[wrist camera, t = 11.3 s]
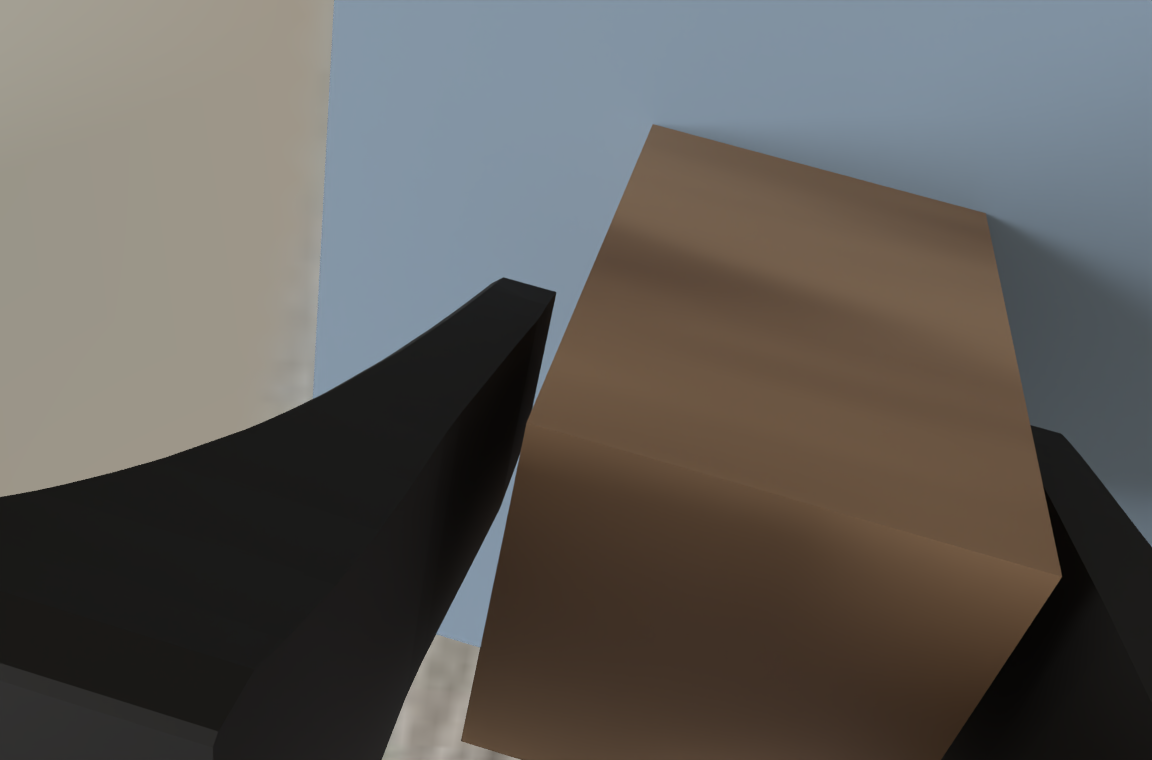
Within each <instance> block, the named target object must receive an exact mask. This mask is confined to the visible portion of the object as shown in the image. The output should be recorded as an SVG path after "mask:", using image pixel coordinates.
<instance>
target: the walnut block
mask: <svg viewBox="0 0 1152 760" xmlns="http://www.w3.org/2000/svg"><path fill="white" fill-rule="evenodd" d="M1061 578H1062V574H1061V569H1060V564H1059V559H1058V555H1057V550H1056V545H1055V540H1054V536H1053V531H1052V526H1051V521H1050V517H1049V512H1048V507H1047V502H1046V498H1045V493H1044V488H1043V483H1042V478H1041V474H1040V469H1039V464H1038V459H1037V455H1036V450H1035V445H1034V440H1033V436H1032V431H1031V426H1030V421H1029V417H1028V412H1027V407H1026V402H1025V398H1024V393H1023V388H1022V383H1021V378H1020V374H1019V369H1018V364H1017V359H1016V355H1015V350H1014V345H1013V340H1012V336H1011V331H1010V326H1009V321H1008V317H1007V312H1006V307H1005V302H1004V298H1003V293H1002V288H1001V283H1000V278H999V274H998V269H997V264H996V259H995V255H994V250H993V245H992V240H991V236H990V231H989V226H988V221H987V217H986V213H983V212H980V211H976V210H972V209H968V208H965V207H961V206H957V205H953V204H950V203H946V202H942V201H938V200H935V199H931V198H927V197H924V196H920V195H916V194H912V193H909V192H905V191H901V190H897V189H894V188H890V187H886V186H882V185H879V184H875V183H871V182H867V181H864V180H860V179H856V178H852V177H849V176H845V175H841V174H838V173H834V172H830V171H826V170H823V169H819V168H815V167H811V166H808V165H804V164H800V163H796V162H793V161H789V160H785V159H781V158H778V157H774V156H770V155H766V154H763V153H759V152H755V151H751V150H748V149H744V148H740V147H737V146H733V145H729V144H725V143H722V142H718V141H714V140H710V139H707V138H703V137H699V136H695V135H692V134H688V133H684V132H680V131H677V130H673V129H669V128H665V127H662V126H658V125H654V124H653V125H652V127H651V129H650V132H649V134H648V136H647V139H646V141H645V144H644V146H643V148H642V151H641V153H640V155H639V158H638V160H637V163H636V165H635V167H634V170H633V172H632V174H631V177H630V179H629V181H628V184H627V186H626V189H625V191H624V193H623V196H622V198H621V200H620V203H619V205H618V207H617V210H616V212H615V215H614V217H613V219H612V222H611V224H610V226H609V229H608V231H607V234H606V236H605V238H604V241H603V243H602V245H601V248H600V250H599V252H598V255H597V257H596V260H595V262H594V264H593V267H592V269H591V271H590V274H589V276H588V278H587V281H586V283H585V286H584V288H583V290H582V293H581V295H580V297H579V300H578V302H577V305H576V307H575V309H574V312H573V314H572V316H571V319H570V321H569V323H568V326H567V328H566V331H565V333H564V335H563V338H562V340H561V342H560V345H559V347H558V349H557V352H556V354H555V357H554V359H553V361H552V364H551V366H550V368H549V371H548V373H547V376H546V378H545V380H544V383H543V385H542V387H541V390H540V392H539V394H538V397H537V399H536V402H535V404H534V406H533V409H532V411H531V413H530V416H529V418H528V420H527V423H526V428H525V433H524V438H523V443H522V447H521V452H520V457H519V462H518V467H517V472H516V477H515V481H514V486H513V491H512V496H511V501H510V506H509V511H508V515H507V520H506V525H505V530H504V535H503V540H502V545H501V549H500V554H499V559H498V564H497V569H496V574H495V579H494V584H493V588H492V593H491V598H490V603H489V608H488V613H487V618H486V622H485V627H484V632H483V637H482V642H481V647H480V652H479V656H478V661H477V666H476V671H475V676H474V681H473V686H472V690H471V695H470V700H469V705H468V710H467V715H466V720H465V724H464V729H463V734H462V739H461V741H462V742H466V743H469V744H472V745H475V746H479V747H482V748H485V749H488V750H492V751H495V752H498V753H501V754H505V755H508V756H511V757H514V758H518V759H521V760H941V759H942V757H943V756H944V754H945V753H946V751H947V750H948V748H949V747H950V745H951V744H952V742H953V741H954V739H955V738H956V736H957V735H958V733H959V732H960V730H961V729H962V727H963V726H964V724H965V723H966V721H967V720H968V718H969V717H970V715H971V714H972V712H973V711H974V709H975V708H976V706H977V705H978V703H979V702H980V700H981V699H982V697H983V696H984V694H985V692H986V691H987V689H988V688H989V686H990V685H991V683H992V682H993V680H994V679H995V677H996V676H997V674H998V673H999V671H1000V670H1001V668H1002V667H1003V665H1004V664H1005V662H1006V661H1007V659H1008V658H1009V656H1010V655H1011V653H1012V652H1013V650H1014V649H1015V647H1016V646H1017V644H1018V643H1019V641H1020V640H1021V638H1022V637H1023V635H1024V634H1025V632H1026V631H1027V629H1028V628H1029V626H1030V625H1031V623H1032V621H1033V620H1034V618H1035V617H1036V615H1037V614H1038V612H1039V611H1040V609H1041V608H1042V606H1043V605H1044V603H1045V602H1046V600H1047V599H1048V597H1049V596H1050V594H1051V593H1052V591H1053V590H1054V588H1055V587H1056V585H1057V584H1058V582H1059V581H1060V579H1061Z"/></svg>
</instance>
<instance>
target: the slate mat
mask: <svg viewBox="0 0 1152 760" xmlns="http://www.w3.org/2000/svg"><path fill="white" fill-rule="evenodd" d="M653 124H654V125H658V126H662V127H665V128H669V129H673V130H677V131H680V132H684V133H688V134H692V135H695V136H699V137H703V138H707V139H710V140H714V141H718V142H722V143H725V144H729V145H733V146H737V147H740V148H744V149H748V150H751V151H755V152H759V153H763V154H766V155H770V156H774V157H778V158H781V159H785V160H789V161H793V162H796V163H800V164H804V165H808V166H811V167H815V168H819V169H823V170H826V171H830V172H834V173H838V174H841V175H845V176H849V177H852V178H856V179H860V180H864V181H867V182H871V183H875V184H879V185H882V186H886V187H890V188H894V189H897V190H901V191H905V192H909V193H912V194H916V195H920V196H924V197H927V198H931V199H935V200H938V201H942V202H946V203H950V204H953V205H957V206H961V207H965V208H968V209H972V210H976V211H980V212H983V213H986V217H987V221H988V226H989V231H990V236H991V240H992V245H993V250H994V255H995V259H996V264H997V269H998V274H999V278H1000V283H1001V288H1002V293H1003V298H1004V302H1005V307H1006V312H1007V317H1008V321H1009V326H1010V331H1011V336H1012V340H1013V345H1014V350H1015V355H1016V359H1017V364H1018V369H1019V374H1020V378H1021V383H1022V388H1023V393H1024V398H1025V402H1026V407H1027V412H1028V417H1029V421H1030V425H1032V426H1036V427H1040V428H1043V429H1047V430H1050V431H1054V432H1057V433H1061V434H1062V435H1063V436H1064V437H1065V438H1066V439H1067V440H1068V441H1069V442H1070V443H1071V444H1072V446H1073V447H1074V448H1075V449H1076V450H1077V452H1078V453H1079V454H1080V455H1081V456H1082V458H1083V459H1084V460H1085V461H1086V463H1087V464H1088V465H1089V466H1090V468H1091V469H1092V470H1093V472H1094V473H1095V474H1096V475H1097V477H1098V478H1099V479H1100V481H1101V482H1102V483H1103V484H1104V486H1105V487H1106V488H1107V490H1108V491H1109V492H1110V494H1111V495H1112V496H1113V497H1114V499H1115V500H1116V501H1117V503H1118V504H1119V505H1120V507H1121V508H1122V509H1123V510H1124V512H1125V513H1126V514H1127V516H1128V517H1129V518H1130V520H1131V521H1132V522H1133V523H1134V525H1135V526H1136V527H1137V529H1138V530H1139V531H1140V532H1141V534H1142V535H1143V536H1144V538H1145V539H1146V540H1147V541H1148V543H1149V544H1150V545H1151V546H1152V0H334V14H333V33H332V52H331V70H330V89H329V108H328V126H327V145H326V164H325V183H324V201H323V220H322V239H321V257H320V276H319V295H318V313H317V332H316V351H315V370H314V388H313V399H314V398H316V397H318V396H320V395H322V394H324V393H325V392H327V391H329V390H331V389H333V388H334V387H336V386H338V385H340V384H341V383H343V382H345V381H347V380H348V379H350V378H352V377H354V376H355V375H357V374H359V373H361V372H362V371H364V370H366V369H368V368H369V367H371V366H373V365H375V364H376V363H378V362H380V361H381V360H383V359H385V358H386V357H388V356H389V355H391V354H393V353H394V352H396V351H397V350H399V349H400V348H402V347H403V346H405V345H406V344H408V343H409V342H411V341H412V340H414V339H415V338H417V337H418V336H420V335H421V334H423V333H424V332H426V331H427V330H429V329H430V328H432V327H433V326H435V325H436V324H437V323H439V322H440V321H442V320H443V319H444V318H446V317H447V316H449V315H450V314H452V313H453V312H454V311H456V310H457V309H458V308H460V307H461V306H462V305H464V304H465V303H466V302H468V301H469V300H470V299H472V298H473V297H474V296H476V295H477V294H478V293H480V292H481V291H482V290H484V289H485V288H486V287H487V286H489V285H490V284H491V283H493V282H495V281H497V280H499V279H501V278H503V277H505V278H508V279H512V280H515V281H519V282H522V283H526V284H530V285H533V286H537V287H540V288H544V289H547V290H551V291H555V292H557V293H556V298H555V302H554V307H553V312H552V317H551V321H550V326H549V331H548V336H547V341H546V345H545V350H544V355H543V360H542V364H541V369H540V374H539V379H538V384H537V388H536V393H535V398H534V403H533V406H534V404H535V402H536V399H537V397H538V394H539V392H540V390H541V387H542V385H543V383H544V380H545V378H546V376H547V373H548V371H549V368H550V366H551V364H552V361H553V359H554V357H555V354H556V352H557V349H558V347H559V345H560V342H561V340H562V338H563V335H564V333H565V331H566V328H567V326H568V323H569V321H570V319H571V316H572V314H573V312H574V309H575V307H576V305H577V302H578V300H579V297H580V295H581V293H582V290H583V288H584V286H585V283H586V281H587V278H588V276H589V274H590V271H591V269H592V267H593V264H594V262H595V260H596V257H597V255H598V252H599V250H600V248H601V245H602V243H603V241H604V238H605V236H606V234H607V231H608V229H609V226H610V224H611V222H612V219H613V217H614V215H615V212H616V210H617V207H618V205H619V203H620V200H621V198H622V196H623V193H624V191H625V189H626V186H627V184H628V181H629V179H630V177H631V174H632V172H633V170H634V167H635V165H636V163H637V160H638V158H639V155H640V153H641V151H642V148H643V146H644V144H645V141H646V139H647V136H648V134H649V132H650V129H651V127H652V125H653ZM532 409H533V408H532ZM519 457H520V455H519ZM518 462H519V458H518V461H517V464H516V467H515V469H514V472H513V475H512V478H511V480H510V483H509V486H508V488H507V491H506V494H505V497H504V499H503V502H502V505H501V507H500V510H499V512H498V514H497V516H496V518H495V520H494V522H493V524H492V526H491V528H490V530H489V532H488V534H487V535H486V537H485V539H484V541H483V543H482V545H481V547H480V549H479V551H478V553H477V555H476V557H475V559H474V561H473V563H472V565H471V567H470V569H469V571H468V573H467V575H466V577H465V579H464V581H463V583H462V585H461V587H460V588H459V590H458V592H457V594H456V596H455V598H454V600H453V602H452V604H451V606H450V608H449V610H448V612H447V614H446V616H445V618H444V620H443V622H442V624H441V626H440V628H439V629H438V631H437V633H436V634H437V635H441V636H444V637H447V638H450V639H454V640H457V641H460V642H464V643H467V644H470V645H473V646H477V647H481V642H482V637H483V632H484V627H485V622H486V618H487V613H488V608H489V603H490V598H491V593H492V588H493V584H494V579H495V574H496V569H497V564H498V559H499V554H500V549H501V545H502V540H503V535H504V530H505V525H506V520H507V515H508V511H509V506H510V501H511V496H512V491H513V486H514V481H515V477H516V472H517V467H518Z"/></svg>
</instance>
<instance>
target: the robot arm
mask: <svg viewBox="0 0 1152 760" xmlns="http://www.w3.org/2000/svg"><path fill="white" fill-rule="evenodd" d="M556 293H557V292H555V291H551V290H547V289H544V288H540V287H537V286H533V285H530V284H526V283H522V282H519V281H515V280H512V279H508V278H505V277H503V278H501V279H499V280H497V281H495V282H493V283H491V284H490V285H489V286H487V287H486V288H485V289H484V290H482V291H481V292H480V293H478V294H477V295H476V296H474V297H473V298H472V299H470V300H469V301H468V302H466V303H465V304H464V305H462V306H461V307H460V308H458V309H457V310H456V311H454V312H453V313H452V314H450V315H449V316H447V317H446V318H444V319H443V320H442V321H440V322H439V323H437V324H436V325H435V326H433V327H432V328H430V329H429V330H427V331H426V332H424V333H423V334H421V335H420V336H418V337H417V338H415V339H414V340H412V341H411V342H409V343H408V344H406V345H405V346H403V347H402V348H400V349H399V350H397V351H396V352H394V353H393V354H391V355H389V356H388V357H386V358H385V359H383V360H381V361H380V362H378V363H376V364H375V365H373V366H371V367H369V368H368V369H366V370H364V371H362V372H361V373H359V374H357V375H355V376H354V377H352V378H350V379H348V380H347V381H345V382H343V383H341V384H340V385H338V386H336V387H334V388H333V389H331V390H329V391H327V392H325V393H324V394H322V395H320V396H318V397H316V398H314V399H312V400H310V401H308V402H306V403H304V404H302V405H300V406H298V407H296V408H294V409H291V410H289V411H287V412H285V413H283V414H281V415H278V416H276V417H274V418H272V419H269V420H267V421H265V422H262V423H260V424H258V425H255V426H253V427H250V428H248V429H245V430H243V431H240V432H237V433H234V434H231V435H229V436H226V437H223V438H220V439H217V440H215V441H211V442H209V443H206V444H203V445H200V446H197V447H194V448H192V449H189V450H186V451H183V452H180V453H177V454H175V455H172V456H169V457H166V458H162V459H159V460H156V461H152V462H149V463H146V464H142V465H138V466H135V467H131V468H128V469H124V470H120V471H117V472H113V473H110V474H105V475H101V476H97V477H93V478H89V479H85V480H81V481H77V482H73V483H69V484H65V485H60V486H56V487H51V488H46V489H42V490H38V491H32V492H26V493H21V494H16V495H10V496H4V497H0V760H382V757H383V755H384V752H385V749H386V747H387V744H388V742H389V739H390V736H391V734H392V731H393V729H394V726H395V724H396V721H397V718H398V716H399V713H400V711H401V708H402V706H403V703H404V700H405V698H406V696H407V693H408V691H409V689H410V687H411V685H412V682H413V680H414V678H415V676H416V674H417V672H418V669H419V667H420V665H421V663H422V661H423V659H424V657H425V655H426V653H427V651H428V649H429V647H430V645H431V643H432V641H433V639H434V637H435V635H436V633H437V631H438V629H439V628H440V626H441V624H442V622H443V620H444V618H445V616H446V614H447V612H448V610H449V608H450V606H451V604H452V602H453V600H454V598H455V596H456V594H457V592H458V590H459V588H460V587H461V585H462V583H463V581H464V579H465V577H466V575H467V573H468V571H469V569H470V567H471V565H472V563H473V561H474V559H475V557H476V555H477V553H478V551H479V549H480V547H481V545H482V543H483V541H484V539H485V537H486V535H487V534H488V532H489V530H490V528H491V526H492V524H493V522H494V520H495V518H496V516H497V514H498V512H499V510H500V507H501V505H502V502H503V499H504V497H505V494H506V491H507V488H508V486H509V483H510V480H511V478H512V475H513V472H514V469H515V467H516V464H517V461H518V458H519V455H520V452H521V447H522V443H523V438H524V433H525V428H526V423H527V420H528V418H529V416H530V413H531V411H532V408H533V403H534V398H535V393H536V388H537V384H538V379H539V374H540V369H541V364H542V360H543V355H544V350H545V345H546V341H547V336H548V331H549V326H550V321H551V317H552V312H553V307H554V302H555V298H556ZM1030 426H1031V431H1032V436H1033V440H1034V445H1035V450H1036V455H1037V459H1038V464H1039V469H1040V474H1041V478H1042V483H1043V488H1044V493H1045V498H1046V502H1047V507H1048V512H1049V517H1050V521H1051V526H1052V531H1053V536H1054V540H1055V545H1056V550H1057V555H1058V559H1059V564H1060V569H1061V574H1062V578H1061V579H1060V581H1059V582H1058V584H1057V585H1056V587H1055V588H1054V590H1053V591H1052V593H1051V594H1050V596H1049V597H1048V599H1047V600H1046V602H1045V603H1044V605H1043V606H1042V608H1041V609H1040V611H1039V612H1038V614H1037V615H1036V617H1035V618H1034V620H1033V621H1032V623H1031V625H1030V626H1029V628H1028V629H1027V631H1026V632H1025V634H1024V635H1023V637H1022V638H1021V640H1020V641H1019V643H1018V644H1017V646H1016V647H1015V649H1014V650H1013V652H1012V653H1011V655H1010V656H1009V658H1008V659H1007V661H1006V662H1005V664H1004V665H1003V667H1002V668H1001V670H1000V671H999V673H998V674H997V676H996V677H995V679H994V680H993V682H992V683H991V685H990V686H989V688H988V689H987V691H986V692H985V694H984V696H983V697H982V699H981V700H980V702H979V703H978V705H977V706H976V708H975V709H974V711H973V712H972V714H971V715H970V717H969V718H968V720H967V721H966V723H965V724H964V726H963V727H962V729H961V730H960V732H959V733H958V735H957V736H956V738H955V739H954V741H953V742H952V744H951V745H950V747H949V748H948V750H947V751H946V753H945V754H944V756H943V757H942V759H941V760H1152V546H1151V545H1150V544H1149V543H1148V541H1147V540H1146V539H1145V538H1144V536H1143V535H1142V534H1141V532H1140V531H1139V530H1138V529H1137V527H1136V526H1135V525H1134V523H1133V522H1132V521H1131V520H1130V518H1129V517H1128V516H1127V514H1126V513H1125V512H1124V510H1123V509H1122V508H1121V507H1120V505H1119V504H1118V503H1117V501H1116V500H1115V499H1114V497H1113V496H1112V495H1111V494H1110V492H1109V491H1108V490H1107V488H1106V487H1105V486H1104V484H1103V483H1102V482H1101V481H1100V479H1099V478H1098V477H1097V475H1096V474H1095V473H1094V472H1093V470H1092V469H1091V468H1090V466H1089V465H1088V464H1087V463H1086V461H1085V460H1084V459H1083V458H1082V456H1081V455H1080V454H1079V453H1078V452H1077V450H1076V449H1075V448H1074V447H1073V446H1072V444H1071V443H1070V442H1069V441H1068V440H1067V439H1066V438H1065V437H1064V436H1063V435H1062V434H1061V433H1057V432H1054V431H1050V430H1047V429H1043V428H1040V427H1036V426H1032V425H1030Z"/></svg>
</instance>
